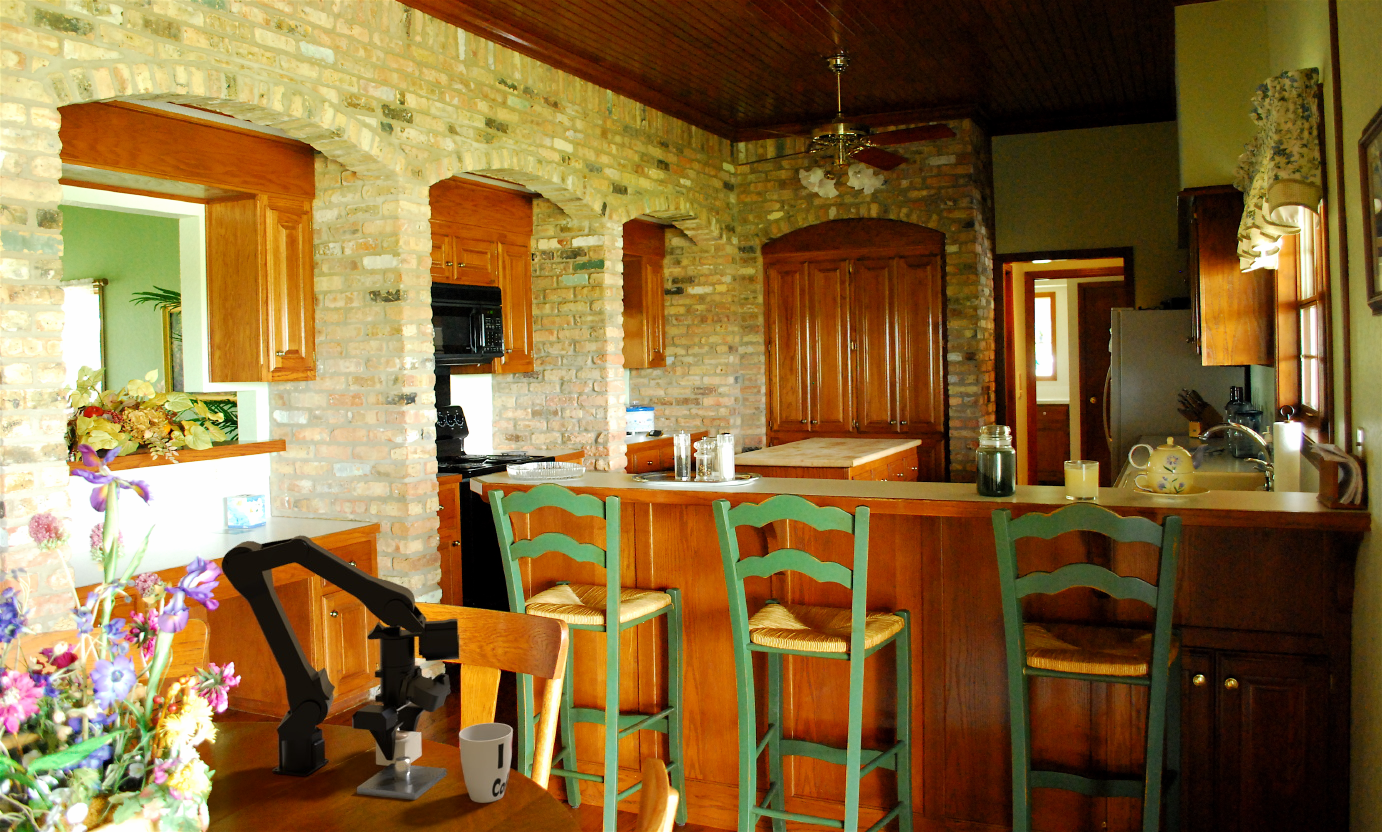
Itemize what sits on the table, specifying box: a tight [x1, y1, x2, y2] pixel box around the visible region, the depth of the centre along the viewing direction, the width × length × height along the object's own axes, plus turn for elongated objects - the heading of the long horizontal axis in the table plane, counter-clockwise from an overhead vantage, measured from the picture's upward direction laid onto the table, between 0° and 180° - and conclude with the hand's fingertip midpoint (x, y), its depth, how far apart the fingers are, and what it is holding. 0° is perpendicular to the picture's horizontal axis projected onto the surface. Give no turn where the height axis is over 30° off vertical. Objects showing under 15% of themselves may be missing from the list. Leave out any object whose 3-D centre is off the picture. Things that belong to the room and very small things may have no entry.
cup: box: [458, 722, 514, 804], centre depth 151 cm, size 8×8×10 cm
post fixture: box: [356, 756, 448, 801], centre depth 156 cm, size 10×10×4 cm
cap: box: [375, 729, 423, 767], centre depth 166 cm, size 5×5×4 cm
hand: (398, 753), depth 166 cm, fingers closed on cap, 5 cm apart
